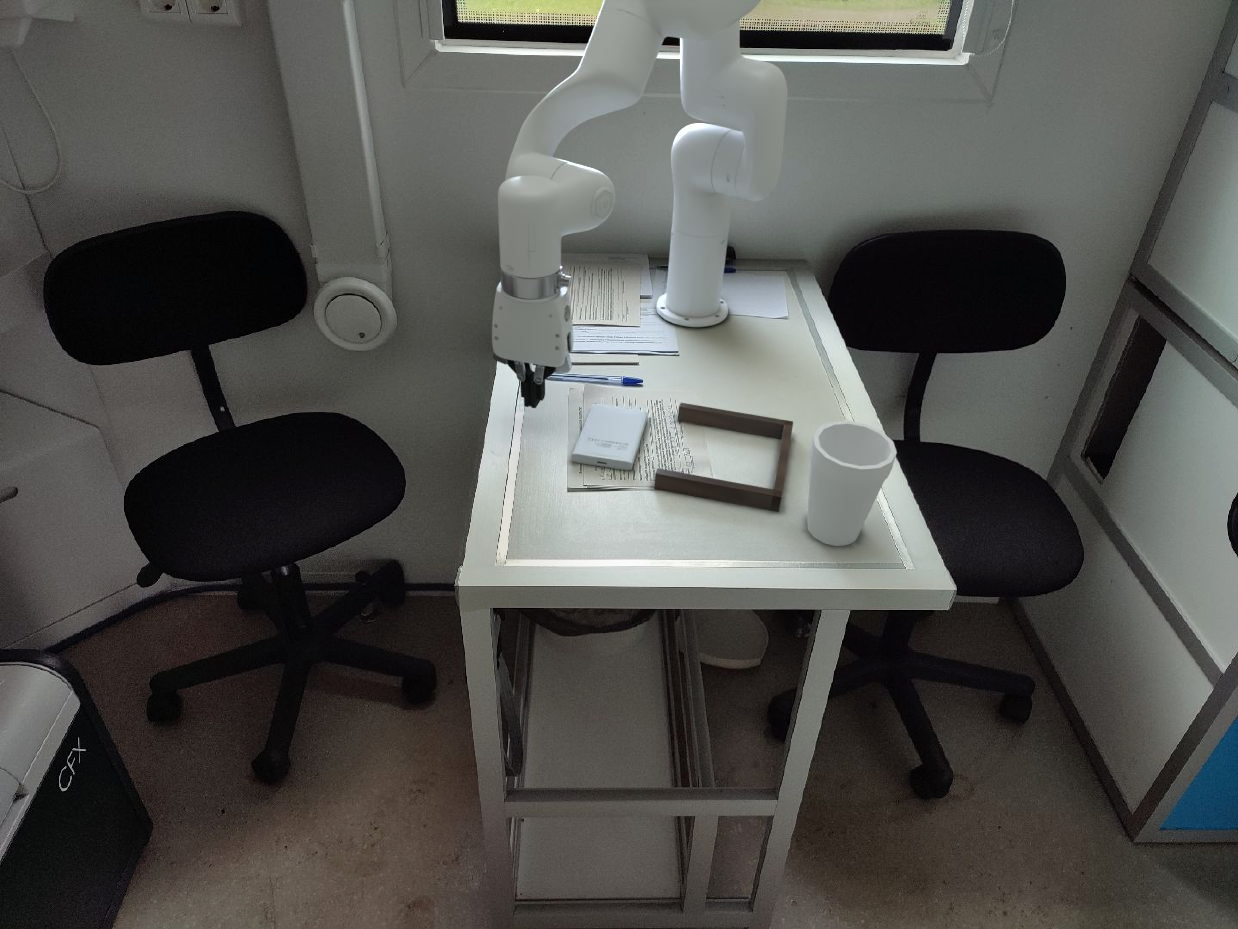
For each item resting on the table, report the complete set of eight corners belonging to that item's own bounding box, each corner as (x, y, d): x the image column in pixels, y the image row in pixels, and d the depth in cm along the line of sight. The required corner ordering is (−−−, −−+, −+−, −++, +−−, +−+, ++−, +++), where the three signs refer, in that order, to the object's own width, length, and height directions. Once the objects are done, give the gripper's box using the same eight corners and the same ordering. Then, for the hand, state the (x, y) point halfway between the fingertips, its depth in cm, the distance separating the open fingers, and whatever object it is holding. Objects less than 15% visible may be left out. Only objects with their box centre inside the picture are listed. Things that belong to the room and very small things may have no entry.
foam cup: (857, 565, 101) (882, 479, 94) (784, 537, 105) (802, 452, 97) (879, 520, 108) (905, 436, 100) (809, 495, 111) (828, 412, 104)
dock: (679, 416, 125) (680, 402, 123) (790, 435, 122) (793, 421, 121) (654, 488, 111) (655, 473, 110) (778, 512, 109) (781, 496, 107)
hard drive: (647, 420, 124) (631, 471, 114) (592, 412, 125) (571, 462, 115) (648, 410, 123) (632, 461, 113) (592, 402, 124) (571, 452, 114)
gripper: (596, 275, 109) (592, 397, 120) (485, 259, 112) (491, 380, 123) (579, 301, 103) (577, 426, 114) (463, 283, 106) (472, 407, 117)
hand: (533, 402), depth 119 cm, fingers closed
